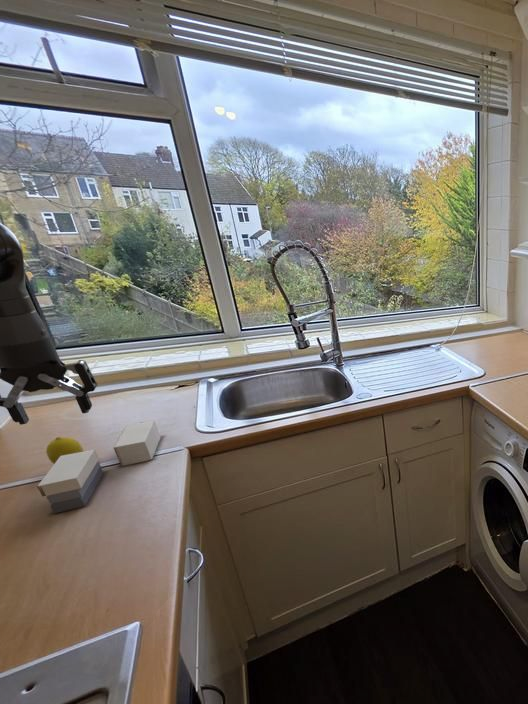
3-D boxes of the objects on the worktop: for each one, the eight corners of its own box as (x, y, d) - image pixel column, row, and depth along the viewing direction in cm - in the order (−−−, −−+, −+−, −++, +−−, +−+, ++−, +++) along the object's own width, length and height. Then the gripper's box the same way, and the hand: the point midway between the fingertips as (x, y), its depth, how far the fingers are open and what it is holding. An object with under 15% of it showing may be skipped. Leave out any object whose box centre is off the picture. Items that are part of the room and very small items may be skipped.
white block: (121, 466, 96) (113, 447, 94) (133, 442, 106) (126, 425, 104) (151, 459, 99) (144, 441, 97) (160, 437, 108) (154, 420, 106)
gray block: (54, 513, 81) (45, 497, 80) (76, 478, 92) (69, 463, 90) (85, 506, 84) (77, 490, 82) (103, 472, 94) (96, 458, 92)
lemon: (82, 457, 99) (68, 429, 96) (93, 463, 97) (79, 434, 94) (51, 469, 95) (35, 439, 91) (61, 476, 92) (46, 446, 89)
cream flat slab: (42, 497, 80) (36, 486, 79) (65, 465, 89) (60, 455, 88) (81, 488, 83) (76, 477, 82) (99, 458, 92) (94, 449, 91)
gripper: (78, 327, 80) (108, 401, 86) (-33, 338, 72) (10, 418, 79) (68, 337, 74) (101, 415, 80) (-54, 349, 66) (-6, 435, 73)
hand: (56, 417), depth 79 cm, fingers open, 8 cm apart
